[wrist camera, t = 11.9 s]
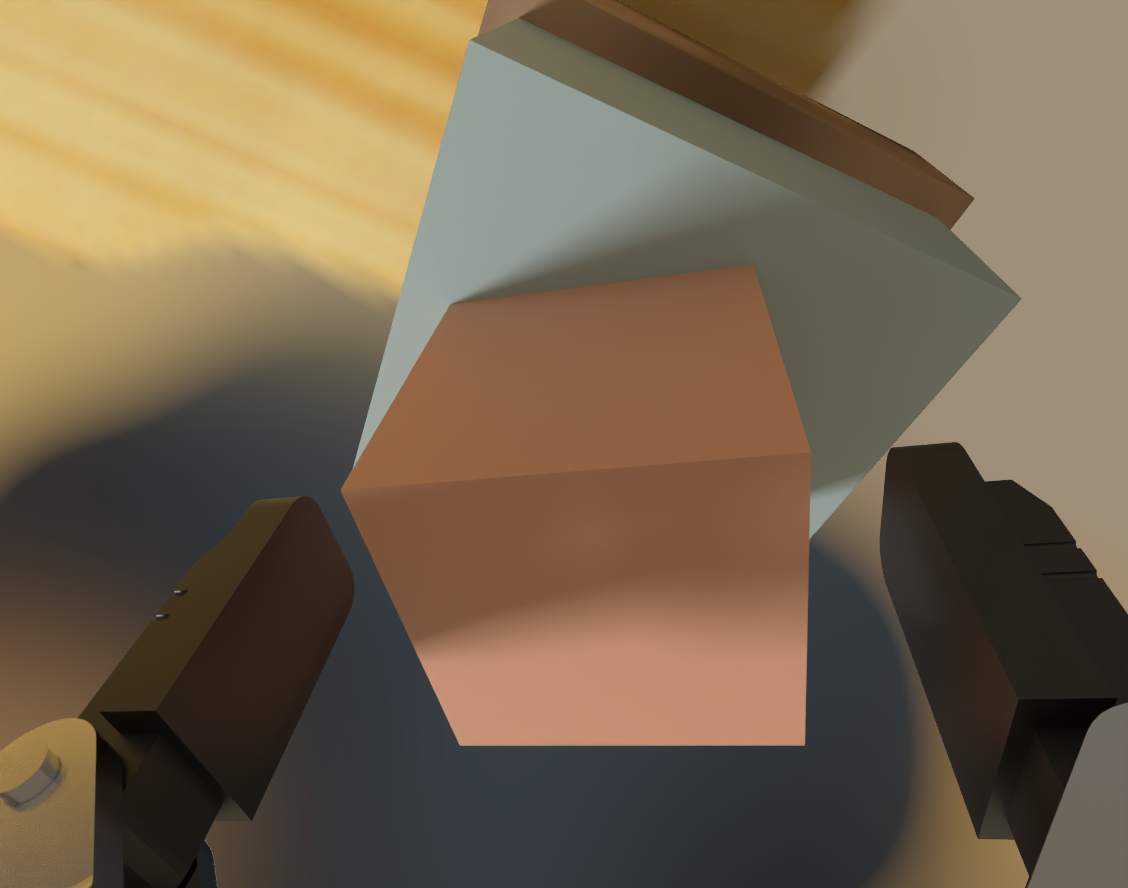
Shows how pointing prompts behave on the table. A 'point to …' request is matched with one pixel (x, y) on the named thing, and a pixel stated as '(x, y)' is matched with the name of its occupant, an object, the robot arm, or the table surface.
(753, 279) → the terracotta block
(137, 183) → the table surface
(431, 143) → the table surface
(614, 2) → the tower base block
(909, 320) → the tower top block
